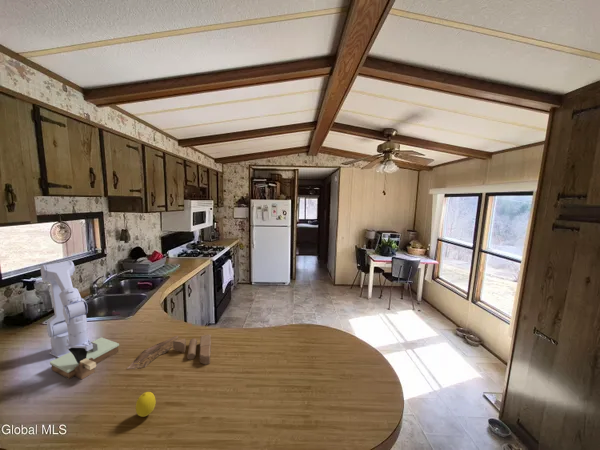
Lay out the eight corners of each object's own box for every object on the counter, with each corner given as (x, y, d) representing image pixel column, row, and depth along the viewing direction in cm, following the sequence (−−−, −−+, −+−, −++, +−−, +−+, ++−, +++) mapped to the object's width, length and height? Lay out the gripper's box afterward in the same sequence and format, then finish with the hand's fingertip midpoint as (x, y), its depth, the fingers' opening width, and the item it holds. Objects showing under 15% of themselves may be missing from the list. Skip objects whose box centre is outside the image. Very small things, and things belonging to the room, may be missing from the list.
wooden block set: (210, 331, 117) (210, 352, 100) (210, 341, 117) (210, 364, 100) (173, 338, 111) (166, 362, 94) (173, 348, 111) (166, 375, 94)
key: (80, 365, 94) (79, 361, 93) (86, 362, 95) (85, 358, 95) (90, 370, 91) (89, 365, 91) (96, 366, 93) (95, 362, 93)
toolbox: (52, 370, 97) (50, 357, 96) (101, 345, 113) (100, 333, 113) (76, 382, 90) (74, 368, 89) (125, 354, 107) (124, 342, 106)
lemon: (142, 408, 79) (141, 387, 78) (159, 407, 79) (158, 386, 79) (132, 423, 73) (130, 401, 73) (150, 422, 74) (148, 399, 73)
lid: (49, 364, 96) (48, 355, 96) (101, 339, 113) (100, 332, 113) (67, 373, 91) (66, 364, 91) (119, 345, 108) (118, 338, 108)
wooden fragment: (136, 374, 95) (135, 371, 95) (119, 367, 99) (119, 364, 99) (187, 339, 119) (187, 337, 119) (172, 334, 123) (172, 332, 123)
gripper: (55, 332, 92) (59, 363, 94) (75, 340, 87) (79, 373, 88) (77, 323, 99) (80, 353, 100) (97, 330, 93) (100, 361, 95)
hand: (81, 362), depth 95 cm, fingers closed
